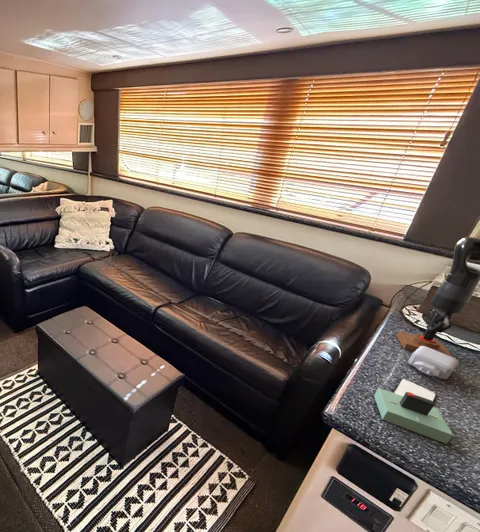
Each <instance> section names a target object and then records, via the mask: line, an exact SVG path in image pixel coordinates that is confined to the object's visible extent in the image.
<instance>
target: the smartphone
mask: <svg viewBox="0 0 480 532" xmlns="http://www.w3.org/2000/svg"><path fill="white" fill-rule="evenodd" d="M406 392H410V393H413V394H414V395H417V396H420V397H423V398H426V399H429V400H432V401H433V402H434V400H435V398H436V393H435V392H434V391H432V390H429V389H427V388H425V387H423V386H420V385H418V384H416V383H414V382H411V381H410V380H407V379H404V378H402V379H401V381H400V382H399V384H398V385H397V388H396V390H395V391H394V393H395V394H398V395H401V396H404V395H405V393H406Z"/></svg>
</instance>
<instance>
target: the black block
mask: <svg viewBox="0 0 480 532" xmlns="http://www.w3.org/2000/svg"><path fill="white" fill-rule="evenodd" d="M400 405H401V407H404V408H406V409H409V410H412V411H415V412H418V413H420V414H423V415H426V416H427V415H428V414H429V412H430V411H431V409H432V408H433V407H435V403H434V400H433V401H432V400H429V399H426V398H423V397H420V396H417V395H414V394H413V393H410V392H406V393H405V395H404V396H403V398H402V400H401V401H400Z"/></svg>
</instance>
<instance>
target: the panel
mask: <svg viewBox="0 0 480 532" xmlns="http://www.w3.org/2000/svg"><path fill="white" fill-rule="evenodd" d="M373 397H374V401H375V403H376V406H377V409H378V411H379V413H380V414H379V415H380V417H381V420H383V421H386V422H388V423H389V424H393V425H396V426H398V427H401V428H404V429H406V430H408V431H411V432H414V433H417V434H419V435H422V436H424V437H426V438H430V439H432V440H435V441H437V442H439V443H443V444H445V445H447V444H448V443H449V442H450V440H451V439H452V437H453V436H454V434H453V432H452V431H451V429H450V427H449V425H448V424H447V422H446V421H445V419H444V417H443V415H442V414H441V412H440V411H439V409H438V408H437V407H436V406H433V408H432V409H431V411H430V412H429V414H428V415H427V416H426V415H423V414H420V413H418V412H415V411H412V410H409V409H406V408H404V407H401V405H400V401H401V400H402V398H403V396H401V395H398V394H395V392H393V391H390V390H386V389H384V388H380V387H378V388H377V390H376V392H375V394H374V395H373Z"/></svg>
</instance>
